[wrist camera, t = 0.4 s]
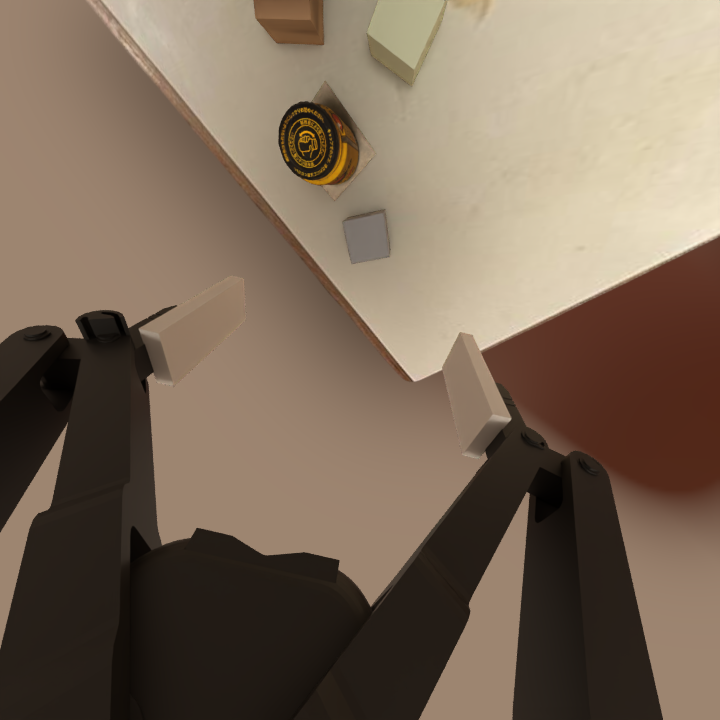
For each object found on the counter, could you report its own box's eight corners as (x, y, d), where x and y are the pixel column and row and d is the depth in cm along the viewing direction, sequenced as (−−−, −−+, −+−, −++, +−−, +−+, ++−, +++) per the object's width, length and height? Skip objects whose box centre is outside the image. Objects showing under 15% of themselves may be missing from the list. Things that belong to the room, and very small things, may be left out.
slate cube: (348, 217, 36) (342, 221, 31) (385, 209, 34) (383, 212, 30) (356, 255, 38) (351, 264, 34) (390, 248, 37) (389, 257, 33)
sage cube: (397, -16, 24) (397, -56, 20) (441, 21, 25) (450, -11, 21) (371, 55, 27) (366, 32, 23) (411, 86, 28) (414, 69, 24)
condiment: (334, 201, 35) (309, 208, 25) (285, 141, 32) (235, 121, 22) (376, 153, 31) (366, 139, 21) (325, 81, 28) (287, 26, 19)
